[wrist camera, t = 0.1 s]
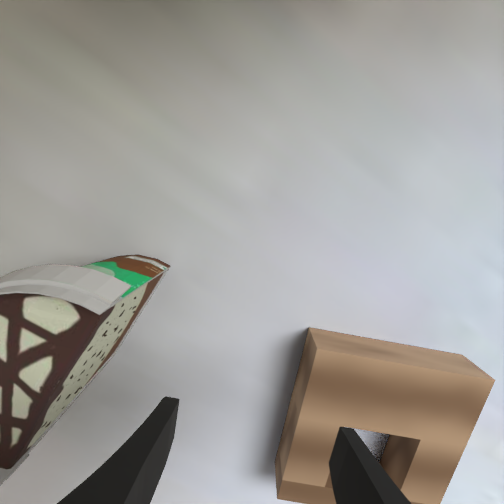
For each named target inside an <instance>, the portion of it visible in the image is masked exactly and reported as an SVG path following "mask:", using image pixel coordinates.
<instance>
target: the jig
mask: <svg viewBox="0 0 504 504" xmlns="http://www.w3.org/2000/svg"><path fill="white" fill-rule="evenodd" d="M494 382H495V380H494V379H493V378H492V377H490V376H489V375H488V374H486V373H485V372H484V371H483V370H481V369H480V368H479V367H477V366H476V365H475V364H474V363H472V362H471V361H470V360H468V359H467V358H466V357H464V356H463V355H460V354H454V353H449V352H443V351H438V350H432V349H426V348H421V347H415V346H410V345H404V344H399V343H393V342H387V341H382V340H376V339H371V338H365V337H360V336H354V335H348V334H343V333H337V332H332V331H326V330H321V329H315V328H309V329H308V333H307V337H306V341H305V345H304V349H303V353H302V357H301V361H300V365H299V369H298V372H297V376H296V380H295V384H294V388H293V392H292V396H291V400H290V404H289V408H288V412H287V416H286V420H285V424H284V428H283V432H282V435H281V439H280V443H279V447H278V451H277V455H276V459H275V473H276V488H277V499H281V500H287V501H293V502H299V503H305V504H336V500H335V496H334V492H333V487H332V481H331V475H330V469H329V460H330V457H331V453H332V450H333V447H334V444H335V440H336V437H337V434H338V431H339V427H350V428H356V429H362V430H367V431H373V432H379V433H385V434H390V436H389V438H388V441H387V444H386V447H385V449H384V452H383V455H382V457H381V460H380V462H379V464H380V465H381V466H382V468H383V469H384V470H385V471H386V473H387V474H388V475H389V477H390V478H391V479H392V480H393V482H394V483H395V484H396V485H397V487H398V488H399V489H400V490H401V492H402V493H403V494H404V495H405V496H406V498H407V499H408V500H409V501H410V502H411V504H440V503H441V501H442V498H443V496H444V494H445V492H446V489H447V487H448V485H449V483H450V480H451V478H452V476H453V474H454V471H455V469H456V467H457V465H458V462H459V460H460V458H461V456H462V453H463V451H464V449H465V447H466V445H467V442H468V440H469V438H470V436H471V433H472V431H473V429H474V427H475V424H476V422H477V420H478V418H479V415H480V413H481V411H482V409H483V406H484V404H485V402H486V400H487V397H488V395H489V393H490V391H491V389H492V386H493V384H494Z"/></svg>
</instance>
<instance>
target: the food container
mask: <svg viewBox="0 0 504 504" xmlns="http://www.w3.org/2000/svg"><path fill="white" fill-rule="evenodd" d="M169 268H170V265H168V264H166V263H164V262H162V261H160V260H158V259H155V258H150V257H146V256H142V255H126V256H117V257H114V258H110V259H107V260H103V261H99V262H96V263H92V264H89V265H85V266H81V267H79V266H74V265H57V264H49V265H39V266H31V267H27V268H24V269H20V270H17V271H13V272H11V273H9V274H7V275H5V276H3V277H1V278H0V486H1V484H2V483H3V482H4V481H5V480H7V479H8V478H9V477H10V475H11V474H12V473H13V472H14V471H15V470H16V469H17V468H18V467H19V466H20V465H21V464H22V462H23V461H24V460H25V459H26V458H27V457H28V456H29V452H30V451H31V450H32V449H33V448H34V447H35V445H36V444H37V443H38V442H39V441H40V440H41V439H42V437H43V436H44V435H45V434H46V433H47V432H48V431H49V429H50V428H51V427H52V426H53V425H54V424H55V422H56V421H57V420H58V419H59V418H60V417H61V416H62V414H63V413H64V412H65V411H66V410H67V409H68V408H69V406H70V405H71V404H72V403H73V402H74V401H75V399H76V398H77V397H78V396H79V395H80V394H81V393H82V391H83V390H84V389H85V388H86V387H87V386H88V385H89V383H90V382H91V381H92V380H93V379H94V378H95V376H96V375H97V374H98V373H99V372H100V371H101V370H102V368H103V367H104V366H105V365H106V364H107V363H108V362H109V360H110V359H111V358H112V357H113V356H114V355H115V353H116V352H117V350H118V349H119V347H120V346H121V344H122V343H123V341H124V339H125V338H126V336H127V335H128V333H129V331H130V330H131V328H132V327H133V325H134V323H135V322H136V320H137V319H138V317H139V316H140V314H141V312H142V311H143V309H144V308H145V306H146V304H147V303H148V301H149V300H150V298H151V297H152V295H153V293H154V292H155V290H156V289H157V287H158V285H159V284H160V282H161V281H162V279H163V278H164V276H165V274H166V273H167V271H168V270H169Z"/></svg>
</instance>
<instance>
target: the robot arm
mask: <svg viewBox="0 0 504 504" xmlns="http://www.w3.org/2000/svg"><path fill="white" fill-rule="evenodd" d="M178 405H179V399H176V398H171V397H164V398H163V399H162V400H161V402H160V403H159V404H158V406H157V407H156V408H155V409H154V411H153V412H152V413H151V414H150V416H149V417H148V418H147V419H146V420H145V421H144V423H143V424H142V425H141V426H140V427H139V428H138V429H137V430H136V431H135V432H134V434H133V435H132V436H131V437H130V438H129V439H128V440H127V441H126V442H125V443H124V444H123V445H122V446H121V447H120V448H119V449H118V450H117V451H116V452H115V453H114V454H113V455H112V456H111V457H110V458H109V459H108V460H107V461H106V462H105V463H104V464H103V465H102V466H101V467H100V468H98V469H97V470H96V471H95V472H94V473H93V474H92V475H91V476H90V477H88V478H87V479H86V480H85V481H84V482H83V483H82V484H80V485H79V486H78V487H77V488H75V489H74V490H73V491H72V492H71V493H69V494H68V495H67V496H66V497H65V498H63V499H62V500H61V501H60V502H58V503H57V504H150V502H151V500H152V497H153V495H154V492H155V490H156V487H157V485H158V482H159V480H160V477H161V475H162V472H163V470H164V467H165V465H166V461H167V458H168V455H169V452H170V449H171V445H172V442H173V439H174V433H175V426H176V419H177V412H178ZM329 469H330V475H331V481H332V487H333V492H334V496H335V500H336V504H411V502H410V501H409V500H408V499H407V498H406V496H405V495H404V494H403V493H402V492H401V490H400V489H399V488H398V487H397V485H396V484H395V483H394V482H393V480H392V479H391V478H390V477H389V475H388V474H387V473H386V471H385V470H384V469H383V468H382V466H381V465H380V464H379V462H378V461H377V460H376V458H375V457H374V456H373V454H372V453H371V452H370V450H369V449H368V448H367V446H366V445H365V444H364V442H363V441H362V440H361V438H360V437H359V436H358V434H357V433H356V432H355V430H354V429H352V428H346V427H339V431H338V434H337V437H336V440H335V444H334V447H333V450H332V453H331V457H330V460H329Z"/></svg>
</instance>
